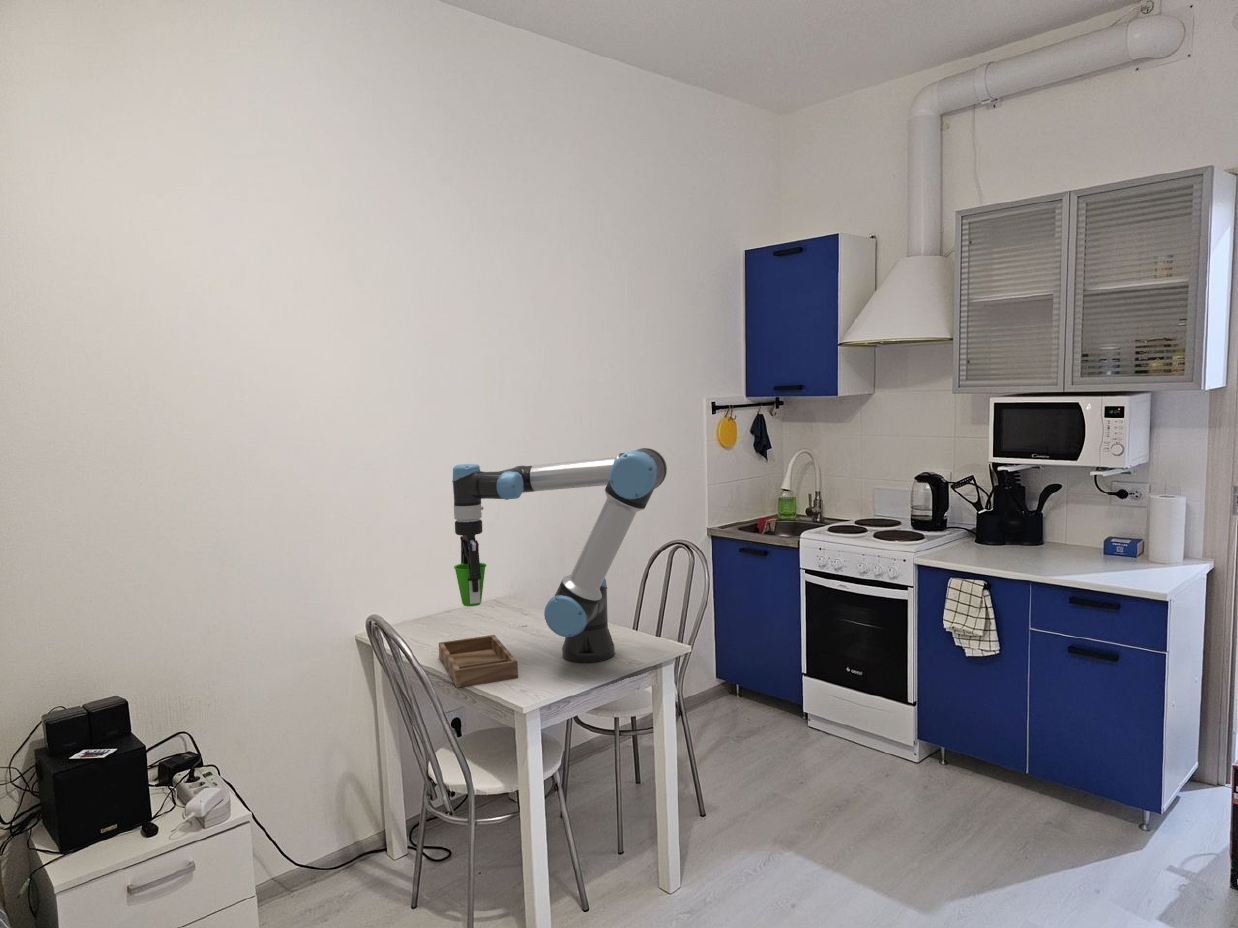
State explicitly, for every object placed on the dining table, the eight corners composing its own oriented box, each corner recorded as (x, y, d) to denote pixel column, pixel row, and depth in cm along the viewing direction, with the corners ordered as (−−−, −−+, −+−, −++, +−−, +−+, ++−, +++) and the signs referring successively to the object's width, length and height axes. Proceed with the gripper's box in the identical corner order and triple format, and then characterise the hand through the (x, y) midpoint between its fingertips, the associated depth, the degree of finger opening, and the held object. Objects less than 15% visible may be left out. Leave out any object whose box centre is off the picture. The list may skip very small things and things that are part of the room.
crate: (518, 677, 218) (517, 661, 217) (456, 687, 212) (455, 670, 211) (495, 649, 242) (494, 634, 242) (439, 657, 236) (438, 642, 236)
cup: (480, 608, 224) (479, 569, 223) (450, 607, 226) (448, 568, 225) (492, 600, 232) (491, 562, 231) (463, 599, 234) (461, 561, 233)
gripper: (489, 524, 218) (493, 606, 220) (474, 513, 238) (477, 588, 240) (461, 526, 215) (465, 609, 217) (448, 515, 236) (451, 591, 238)
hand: (471, 598), depth 229 cm, fingers closed on cup, 9 cm apart
